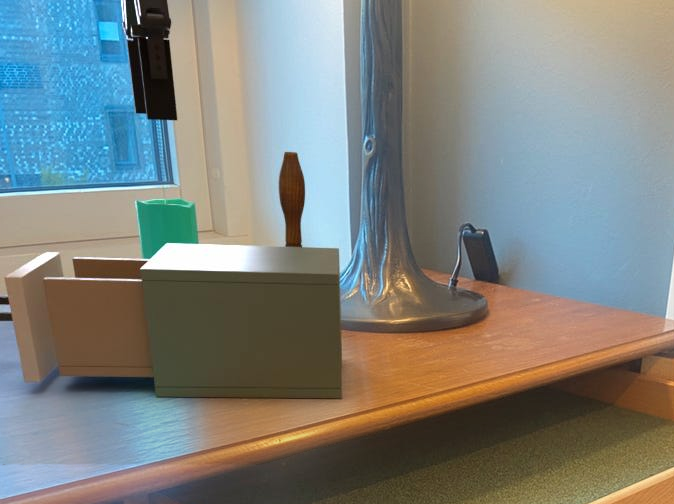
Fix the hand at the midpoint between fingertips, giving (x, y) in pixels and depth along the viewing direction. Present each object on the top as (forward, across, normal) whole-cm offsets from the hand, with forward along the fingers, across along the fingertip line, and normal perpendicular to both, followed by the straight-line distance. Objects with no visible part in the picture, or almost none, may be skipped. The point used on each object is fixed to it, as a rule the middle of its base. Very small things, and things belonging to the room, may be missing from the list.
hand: (155, 116), depth 95 cm
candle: (+18, 0, 0) cm, 18 cm away
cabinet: (+18, +30, +3) cm, 35 cm away
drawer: (+17, +27, -9) cm, 33 cm away
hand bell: (+18, +10, +11) cm, 24 cm away
